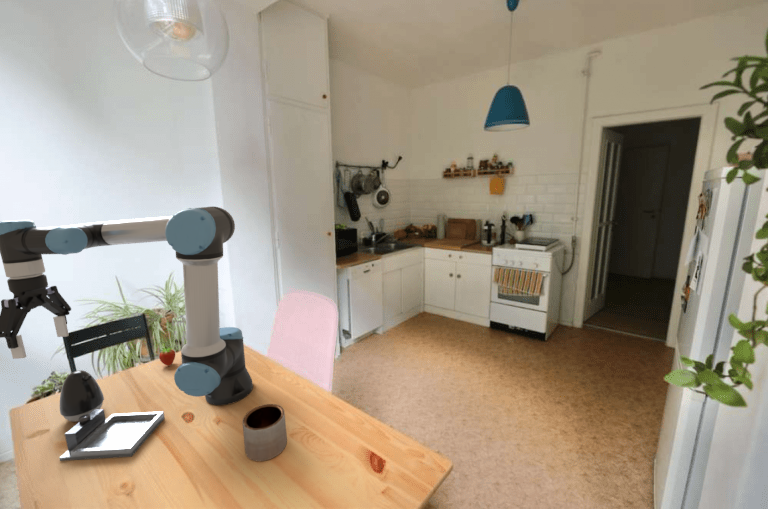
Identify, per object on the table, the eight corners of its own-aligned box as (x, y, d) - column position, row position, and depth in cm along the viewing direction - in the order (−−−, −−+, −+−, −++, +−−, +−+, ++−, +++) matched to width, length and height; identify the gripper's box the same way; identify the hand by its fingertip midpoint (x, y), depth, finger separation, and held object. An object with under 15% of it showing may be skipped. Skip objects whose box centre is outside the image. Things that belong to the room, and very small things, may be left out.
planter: (247, 469, 84) (243, 436, 82) (243, 441, 93) (240, 410, 91) (291, 453, 88) (288, 421, 87) (283, 428, 98) (280, 399, 96)
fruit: (164, 370, 131) (161, 351, 129) (158, 366, 134) (155, 348, 132) (179, 364, 135) (176, 345, 134) (172, 360, 138) (170, 342, 136)
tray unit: (164, 418, 103) (161, 397, 101) (131, 456, 88) (127, 432, 87) (103, 421, 101) (99, 400, 100) (59, 460, 87) (54, 436, 85)
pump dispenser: (80, 429, 98) (71, 382, 96) (53, 424, 100) (43, 379, 98) (114, 407, 108) (106, 364, 105) (89, 403, 110) (80, 361, 107)
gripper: (52, 266, 104) (65, 329, 108) (-41, 289, 80) (-19, 369, 84) (77, 265, 105) (90, 328, 109) (-7, 288, 80) (13, 367, 85)
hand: (43, 346), depth 96 cm, fingers open, 13 cm apart
